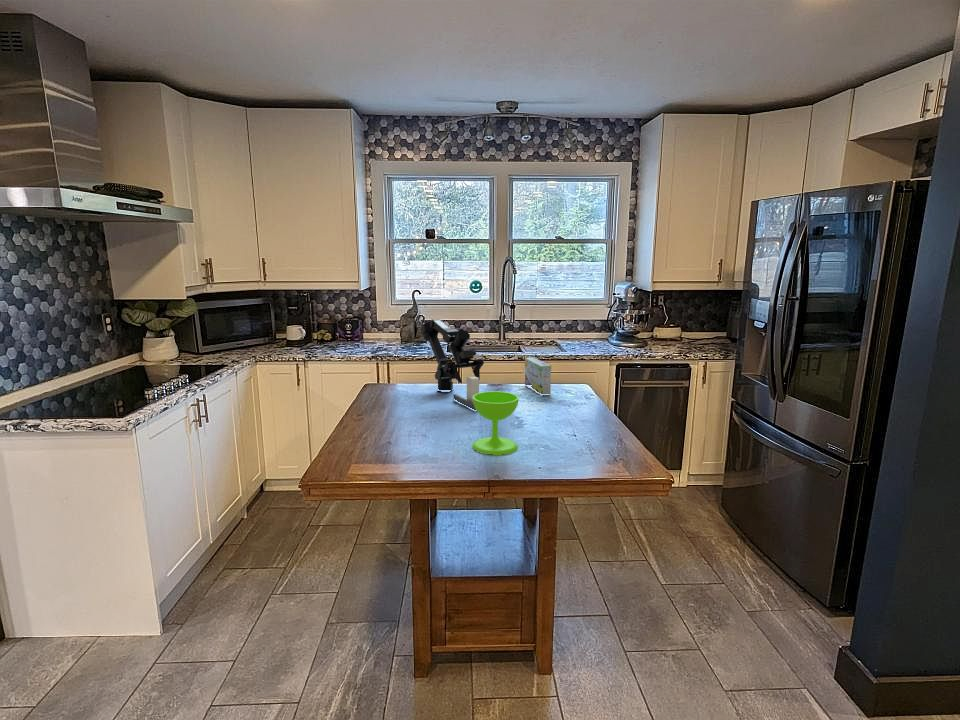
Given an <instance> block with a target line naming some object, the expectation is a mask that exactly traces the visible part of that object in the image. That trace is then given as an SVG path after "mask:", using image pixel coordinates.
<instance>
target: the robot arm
mask: <svg viewBox="0 0 960 720" xmlns="http://www.w3.org/2000/svg"><path fill="white" fill-rule="evenodd" d="M420 334H421V336H422V337H423V339H425V340H426V341H428V343H429V345H430V347H431V350H432V353H433V354H434V357H435V359H436V361H437V367H436V371H435V374H434V377H435V378H434V379H435V380H437V390H438V389H439V390H452V389H453V390H454V382H453V380H456V381H458V383H460V384H462V382H463V381H462V378H461V375H460V374H459V371H458V369H464V368H465V369H466V368H471V369H472V373H473V376H475V377H477V378H479V381H480V379H481V378H480V377H481V375H480V369H481V368H482V367H483V365H484V364H485V361H484V359H483V358H474V357H475V356H476V355H477V351H476V349H475V348H470V349H467V350H466V349H464V348H465V347H466V345H467V343H468V341H469V339H470V338H471V335H470V333H469V332H468V331H466V330H465V329H464V328H463V327H462V328H459V329H456V328H453V327H449V326H448V325H447V324H445V322H443V321H442V320H441V319H440V318H431V319H430V320H428V321H427V322H426V323H423V325H422V326H421V327H420ZM439 334H440V335H441V336H442V340H443V341H444V342H445V343H447V344H449V343H450V344H449V347H448V352H451V354H452V357H453V358H452V359H450V358H449V359H448V358H447V356H446V353H445V351H444V348H443V347H442V344H441V341H440V339H439V337H438V335H439ZM472 358H474V359H473V361H472V362H470V361H471V360H472Z"/></svg>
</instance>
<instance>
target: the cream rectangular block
mask: <svg viewBox="0 0 960 720" xmlns="http://www.w3.org/2000/svg"><path fill="white" fill-rule="evenodd" d="M477 393H480V380H479V378H477V377H475V375H471V376H470V375H469V376H466V398H467V400H469V401H471V402H473V399H472V397H473V395H475V394H477Z"/></svg>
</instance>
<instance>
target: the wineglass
mask: <svg viewBox="0 0 960 720" xmlns="http://www.w3.org/2000/svg"><path fill="white" fill-rule="evenodd" d="M472 399H473V404H474V406H475V409H476V410H477V412H476V413H478V414H479V415H480V416H481V417H482V418H484V419H485V420H490V421H492V423H491V424H492V425H491V426H492V427H491V428H492V429H491V431H492V432H491V433H492V434H491V435H492V436H489V437H483V438H480V439H477V440H476V441H474V442H473V444H472V446H473V448H474V449H475V450H476V451H479V452H482V453H485V454H494V455H493V456H503V455H502V454H507V455H509V454H508V453H511V454H513V453H515V452H516V451H518V449H517V448H518V447H519V446H518V445H517V443H516V442H515V441H514V440H511V439H509V438H506V437H499V436H498V435H499V421H502V420H505V419H507V418H508V417H510V416H511V415H513V413H514V412H515V411H516V409H517V407H518V405H519V401H520V400H519V399H520V398H519V395H517V394H515V393H512V392H507V391H498V390H497V391H496V390H493V391H483V392H479V393H477V394H475V395H473V397H472ZM472 446H471V447H472ZM473 448H472V449H473ZM476 451H475V452H476ZM514 451H515V452H514ZM512 452H513V453H512ZM485 454H484V455H485Z"/></svg>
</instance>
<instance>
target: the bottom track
mask: <svg viewBox="0 0 960 720" xmlns="http://www.w3.org/2000/svg"><path fill="white" fill-rule="evenodd" d="M465 398H466V397H463V396H461V395H458V394H456V393H454V394H453V400H454V399H455V400H457V401H458V402H460V403H462V404H464V405H466V406H468V407H470V408H472V409H474V410H476V409H475V406H474V404H473V402H471V401H469V400H467V399H465Z"/></svg>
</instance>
